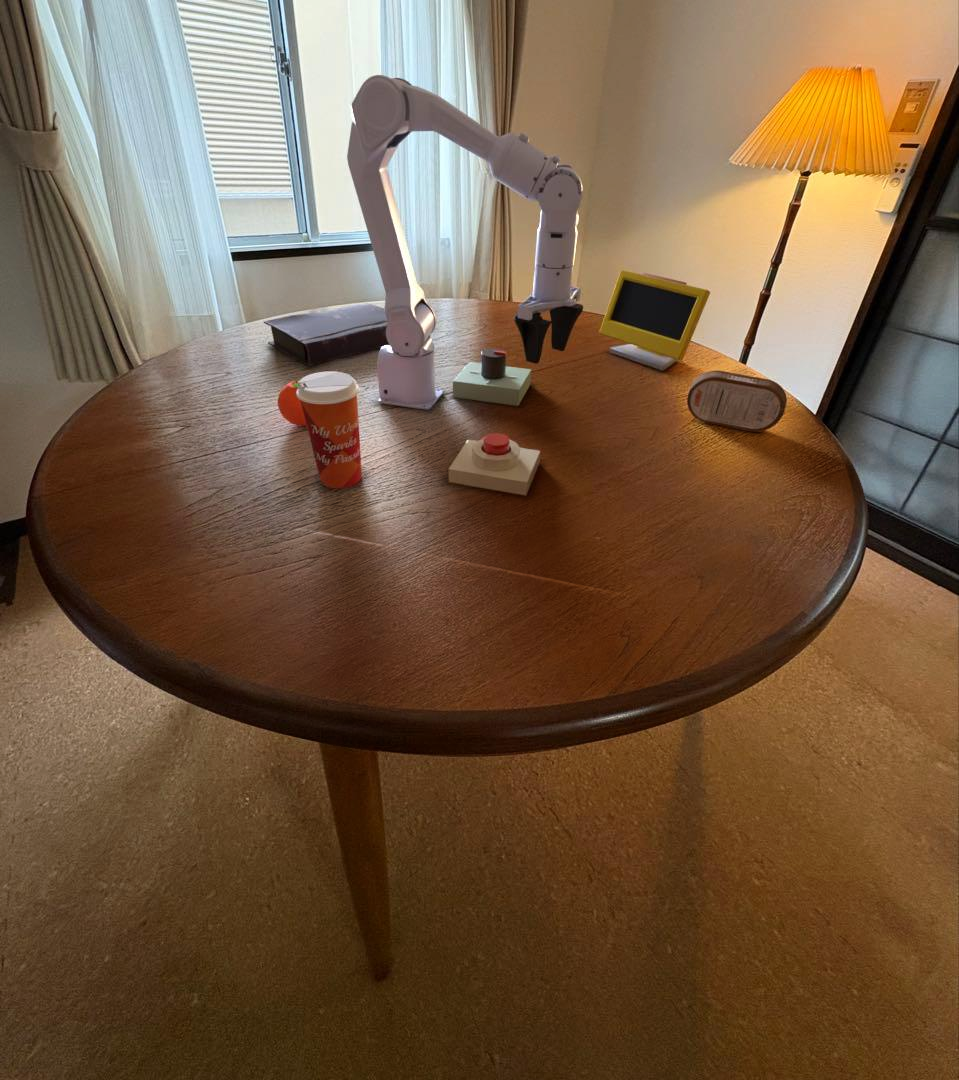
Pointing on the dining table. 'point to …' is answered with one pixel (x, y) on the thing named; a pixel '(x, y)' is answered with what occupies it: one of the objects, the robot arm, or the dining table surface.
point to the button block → (495, 468)
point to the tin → (736, 400)
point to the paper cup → (332, 426)
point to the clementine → (291, 404)
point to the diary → (330, 333)
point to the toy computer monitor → (653, 318)
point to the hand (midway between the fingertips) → (545, 355)
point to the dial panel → (492, 385)
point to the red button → (496, 444)
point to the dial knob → (493, 363)
